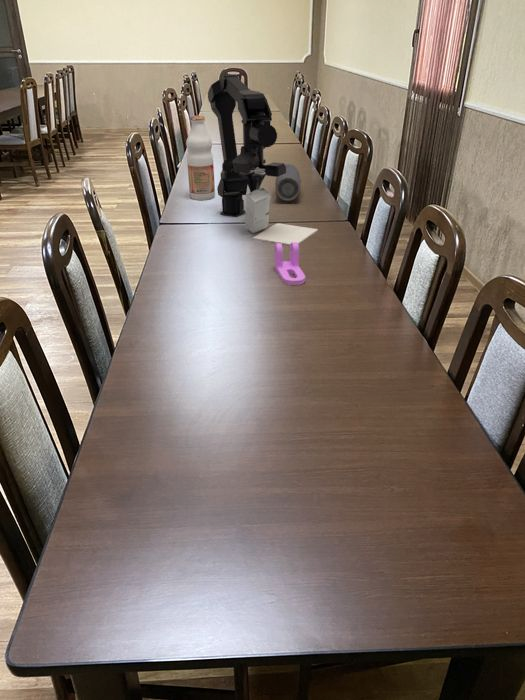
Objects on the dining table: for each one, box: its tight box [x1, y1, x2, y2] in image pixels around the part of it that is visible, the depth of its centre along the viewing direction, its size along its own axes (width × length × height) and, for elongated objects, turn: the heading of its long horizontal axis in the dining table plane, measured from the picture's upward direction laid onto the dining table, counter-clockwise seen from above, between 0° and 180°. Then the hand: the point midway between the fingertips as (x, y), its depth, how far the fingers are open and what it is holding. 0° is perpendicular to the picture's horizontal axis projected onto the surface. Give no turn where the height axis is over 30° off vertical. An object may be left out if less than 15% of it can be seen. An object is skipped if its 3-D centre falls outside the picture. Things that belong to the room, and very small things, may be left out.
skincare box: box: [244, 187, 271, 234], centre depth 160 cm, size 6×4×12 cm
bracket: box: [273, 242, 306, 286], centre depth 133 cm, size 13×6×7 cm, turn 11°
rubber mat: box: [252, 223, 319, 246], centre depth 162 cm, size 14×16×1 cm
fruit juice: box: [185, 115, 216, 201], centre depth 193 cm, size 9×9×28 cm
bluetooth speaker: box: [275, 163, 302, 202], centre depth 199 cm, size 23×9×10 cm, turn 178°
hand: (254, 196), depth 161 cm, fingers closed
